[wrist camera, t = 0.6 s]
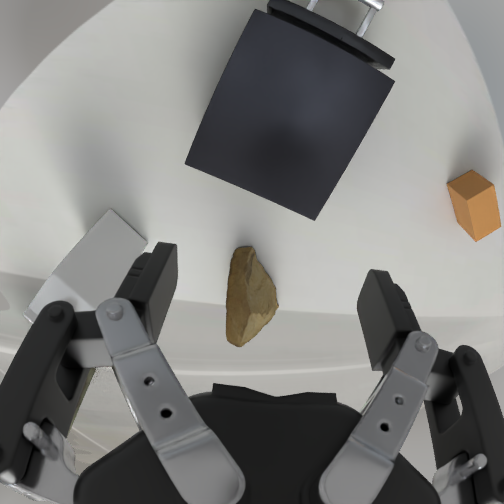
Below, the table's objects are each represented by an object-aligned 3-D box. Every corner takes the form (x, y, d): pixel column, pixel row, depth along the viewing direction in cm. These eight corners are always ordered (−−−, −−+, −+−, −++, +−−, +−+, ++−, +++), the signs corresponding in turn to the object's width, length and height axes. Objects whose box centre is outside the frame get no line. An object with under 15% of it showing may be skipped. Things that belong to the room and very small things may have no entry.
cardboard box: (446, 183, 35) (466, 200, 31) (472, 169, 34) (494, 184, 29) (457, 222, 38) (475, 242, 33) (481, 208, 36) (501, 226, 32)
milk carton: (121, 269, 45) (65, 368, 29) (86, 238, 42) (15, 327, 26) (148, 242, 42) (90, 346, 26) (111, 207, 40) (31, 297, 23)
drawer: (294, -28, 23) (300, -53, 16) (389, 22, 25) (419, 13, 18) (219, 119, 32) (205, 132, 26) (313, 162, 34) (324, 186, 28)
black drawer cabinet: (258, 25, 27) (255, 8, 19) (363, 77, 30) (395, 81, 22) (204, 140, 35) (184, 164, 27) (304, 184, 37) (314, 221, 29)
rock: (212, 244, 39) (199, 310, 43) (253, 281, 33) (233, 351, 37) (278, 240, 46) (261, 298, 50) (321, 269, 40) (297, 331, 44)
